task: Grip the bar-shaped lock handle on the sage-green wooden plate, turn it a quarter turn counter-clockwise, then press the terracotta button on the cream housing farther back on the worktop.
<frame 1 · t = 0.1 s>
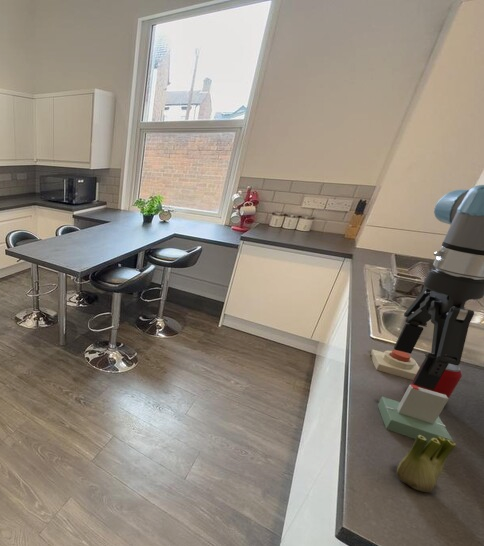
hand: (411, 367, 65), 19 cm above the worktop, tool pointing down, fingers open, 13 cm apart
button: (400, 355, 93), point 4 cm above the worktop, slide at 0.1 cm
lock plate: (409, 425, 75), on the worktop
beverage can: (423, 400, 83), on the worktop
lock handle: (421, 403, 72), point 7 cm above the worktop, hinge at 0.0°
button box: (394, 368, 95), on the worktop
fennel bulb: (410, 482, 62), on the worktop
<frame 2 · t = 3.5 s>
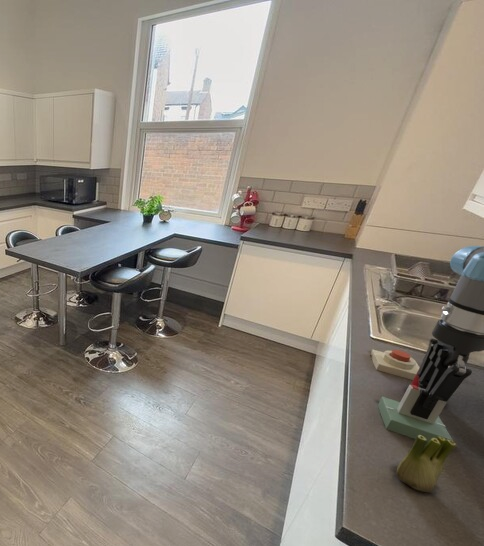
hand: (416, 412, 73), 4 cm above the worktop, tool pointing down, fingers closed on lock handle, 2 cm apart
lock handle: (421, 403, 72), point 7 cm above the worktop, hinge at 0.0°, touching gripper
everything else where it was.
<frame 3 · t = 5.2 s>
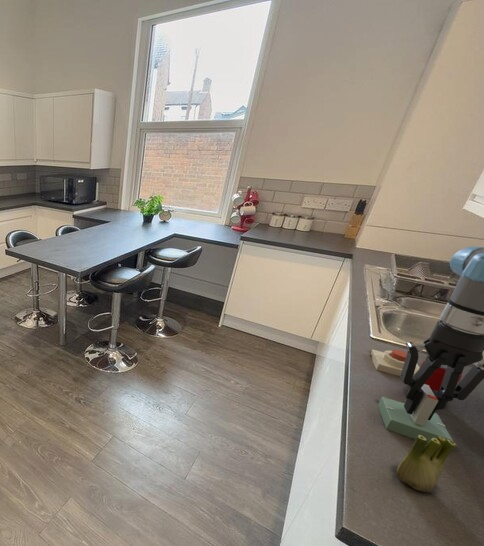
hand: (416, 412, 73), 4 cm above the worktop, tool pointing down, fingers open, 2 cm apart
lock handle: (421, 403, 72), point 7 cm above the worktop, hinge at 89.9°
everything else where it was.
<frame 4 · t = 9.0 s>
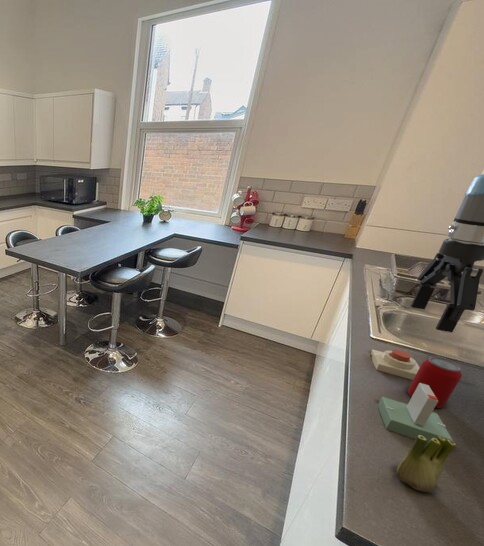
hand: (429, 318, 82), 21 cm above the worktop, tool pointing down, fingers open, 13 cm apart
nothing on the worktop moved.
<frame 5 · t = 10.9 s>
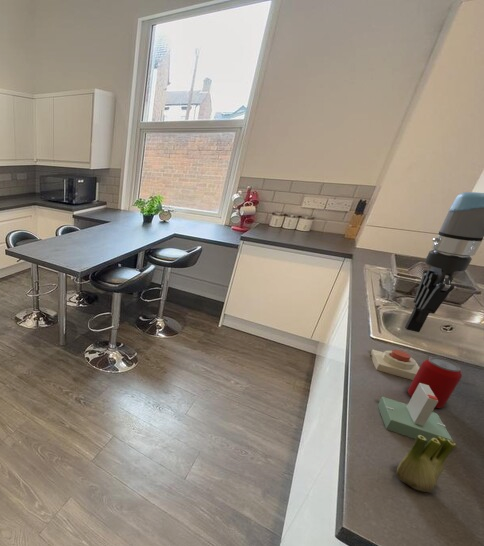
hand: (411, 329, 90), 14 cm above the worktop, tool pointing down, fingers closed
nothing on the worktop moved.
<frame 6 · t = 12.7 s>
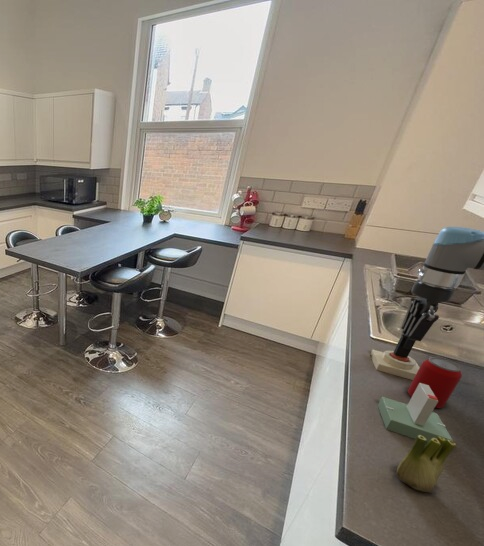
hand: (400, 355, 93), 5 cm above the worktop, tool pointing down, fingers closed
button: (399, 358, 94), point 4 cm above the worktop, slide at -0.8 cm, touching gripper
everything else where it was.
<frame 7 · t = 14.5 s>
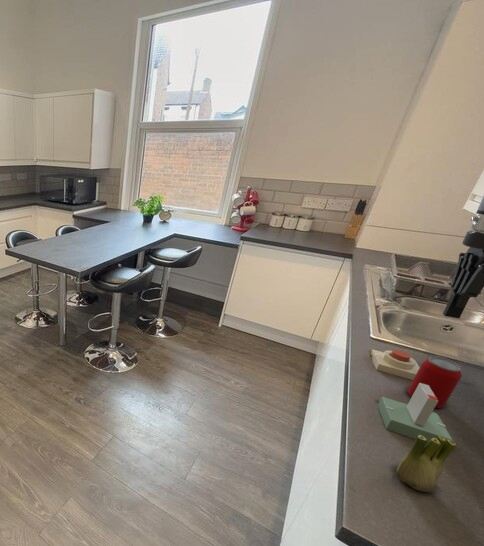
hand: (450, 316, 85), 20 cm above the worktop, tool pointing down, fingers closed
button: (400, 355, 93), point 4 cm above the worktop, slide at 0.1 cm
everything else where it was.
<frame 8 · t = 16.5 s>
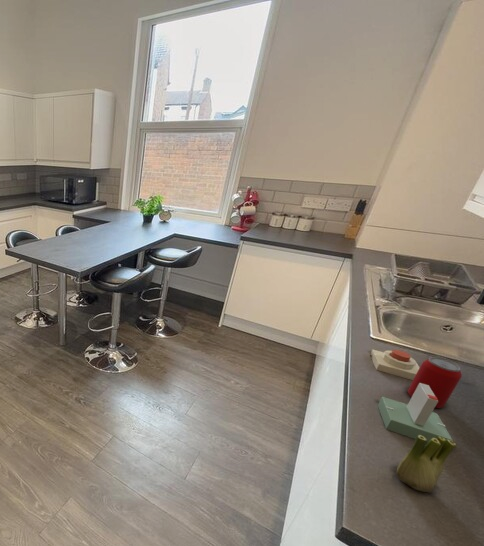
nothing on the worktop moved.
at the end: lock handle at +90° (first picture: +0°); button pushed in 1.0 cm at the most during the clip, back to where it started at the end; button slide at 0.1 cm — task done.
